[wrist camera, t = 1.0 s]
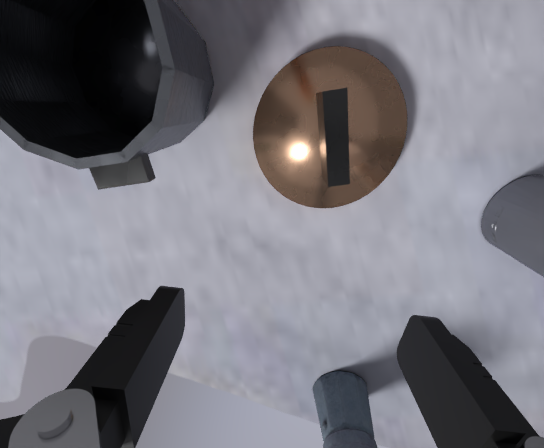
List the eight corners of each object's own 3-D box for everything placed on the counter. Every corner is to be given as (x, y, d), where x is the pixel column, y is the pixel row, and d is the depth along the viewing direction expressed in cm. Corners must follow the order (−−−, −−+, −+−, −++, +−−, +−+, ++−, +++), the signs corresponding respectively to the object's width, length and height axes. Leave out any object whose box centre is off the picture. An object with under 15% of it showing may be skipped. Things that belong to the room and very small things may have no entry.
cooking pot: (185, -53, 22) (107, -194, 11) (228, 152, 28) (202, 178, 18) (37, -23, 22) (-157, -129, 12) (112, 170, 29) (27, 203, 19)
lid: (403, 37, 24) (435, 19, 19) (395, 193, 30) (419, 209, 25) (242, 64, 25) (234, 54, 20) (266, 210, 31) (264, 229, 26)
